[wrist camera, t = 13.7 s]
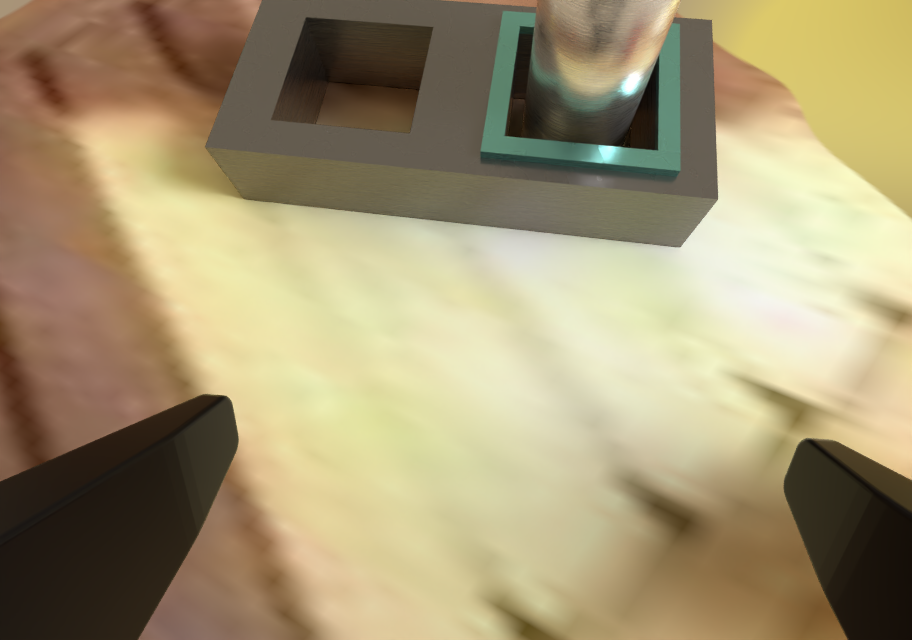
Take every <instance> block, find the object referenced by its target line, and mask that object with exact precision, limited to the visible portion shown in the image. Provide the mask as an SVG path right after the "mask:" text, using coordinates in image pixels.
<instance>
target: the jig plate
mask: <svg viewBox="0 0 912 640" xmlns="http://www.w3.org/2000/svg"><path fill="white" fill-rule="evenodd" d="M536 8H537V7H524V6H511V5H497V4H483V3H469V2H456V1H442V0H262V2H261V5H260V7H259V10H258V12H257V15H256V17H255V20H254V23H253V25H252V28H251V30H250V33H249V35H248V38H247V40H246V43H245V46H244V48H243V51H242V53H241V56H240V58H239V61H238V64H237V66H236V69H235V71H234V74H233V76H232V79H231V82H230V84H229V87H228V89H227V92H226V94H225V97H224V100H223V102H222V105H221V107H220V110H219V112H218V115H217V118H216V120H215V123H214V125H213V128H212V130H211V133H210V136H209V138H208V141H207V143H206V146H205V148H206V149H207V150H208V152H209V153H210V154H211V156H212V157H213V158H214V160H215V161H216V162H217V164H218V165H219V166H220V168H221V169H222V170H223V172H224V173H225V174H226V176H227V177H228V178H229V180H230V181H231V182H232V184H233V185H234V186H235V188H236V189H237V190H238V192H239V193H240V194H241V196H242V197H243V198H244V199H249V200H258V201H268V202H277V203H286V204H295V205H304V206H313V207H322V208H331V209H340V210H349V211H358V212H367V213H376V214H385V215H394V216H403V217H412V218H421V219H430V220H439V221H449V222H458V223H467V224H476V225H485V226H494V227H503V228H512V229H521V230H530V231H539V232H548V233H557V234H566V235H575V236H584V237H593V238H602V239H611V240H621V241H630V242H639V243H648V244H657V245H666V246H675V247H681V246H682V244H683V243H684V242H685V241H686V239H687V238H688V237H689V236H690V234H691V233H692V232H693V230H694V229H695V228H696V227H697V225H698V224H699V223H700V222H701V220H702V219H703V218H704V217H705V215H706V214H707V213H708V212H709V210H710V209H711V208H712V207H713V205H714V204H715V203H716V201H717V200H718V183H717V154H716V125H715V96H714V67H713V38H712V20H703V19H689V18H676V17H674V19H673V22H672V24H671V26H670V29H669V31H668V34H667V36H666V39H665V41H664V44H663V46H662V49H661V51H660V54H659V56H658V59H657V61H656V63H655V66H654V68H653V71H652V73H651V76H650V78H649V81H648V83H647V86H646V88H645V91H644V93H643V95H642V98H641V100H640V103H639V105H638V108H637V110H636V113H635V115H634V118H633V120H632V123H631V139H630V148H624V147H614V146H603V145H593V144H582V143H572V142H561V141H551V140H540V139H529V138H519V137H508V133H509V126H510V118H511V111H512V104H513V98H523V99H526V91H527V83H528V74H529V66H530V58H531V50H532V41H533V33H534V25H535V17H536ZM328 81H331V82H342V83H353V84H365V85H376V86H387V87H399V88H410V89H420V90H419V95H418V99H417V104H416V108H415V113H414V117H413V122H412V126H411V131H410V133H400V132H389V131H379V130H369V129H358V128H348V127H337V126H327V125H316V124H315V123H316V120H317V117H318V114H319V110H320V107H321V104H322V100H323V97H324V94H325V90H326V87H327V84H328Z"/></svg>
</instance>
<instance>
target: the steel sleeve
mask: <svg viewBox="0 0 912 640" xmlns="http://www.w3.org/2000/svg"><path fill="white" fill-rule="evenodd" d="M680 2H681V0H537V8H536V17H535V25H534V33H533V41H532V50H531V58H530V66H529V74H528V83H527V91H526V99H525V107H524V116H523V124H522V132H521V138H529V139H540V140H551V141H561V142H572V143H582V144H593V145H603V146H614V147H622V145H623V142H624V140H625V137H626V135H627V132H628V130H629V127H630V125H631V123H632V120H633V118H634V115H635V113H636V110H637V108H638V105H639V103H640V100H641V98H642V95H643V93H644V91H645V88H646V86H647V83H648V81H649V78H650V76H651V73H652V71H653V68H654V66H655V63H656V61H657V59H658V56H659V54H660V51H661V49H662V46H663V44H664V41H665V39H666V36H667V34H668V31H669V29H670V26H671V24H672V22H673V19H674V17H675V14H676V12H677V9H678V7H679V4H680Z"/></svg>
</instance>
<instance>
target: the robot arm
mask: <svg viewBox="0 0 912 640" xmlns="http://www.w3.org/2000/svg"><path fill="white" fill-rule="evenodd" d="M238 440H239V438H238V431H237V426H236V420H235V415H234V410H233V405H232V402H231V400H230V398H228V397H227V396H224V395H211V394H203V395H200V396H197V397H195V398H193V399H190V400H188V401H186V402H183V403H181V404H179V405H176V406H174V407H172V408H169V409H167V410H165V411H162V412H160V413H158V414H156V415H153V416H151V417H149V418H146V419H144V420H142V421H139V422H137V423H135V424H132V425H130V426H128V427H125V428H123V429H121V430H118V431H116V432H114V433H112V434H109V435H107V436H105V437H102V438H100V439H98V440H95V441H93V442H91V443H88V444H86V445H84V446H81V447H79V448H77V449H74V450H72V451H70V452H68V453H65V454H63V455H61V456H58V457H56V458H54V459H51V460H49V461H47V462H44V463H42V464H40V465H37V466H35V467H33V468H31V469H28V470H26V471H24V472H21V473H19V474H17V475H14V476H12V477H10V478H7V479H5V480H3V481H0V640H138V639H139V637H140V635H141V634H142V632H143V630H144V628H145V627H146V625H147V623H148V621H149V620H150V618H151V616H152V615H153V613H154V611H155V609H156V608H157V606H158V604H159V602H160V601H161V599H162V597H163V596H164V594H165V592H166V590H167V589H168V587H169V585H170V584H171V582H172V580H173V578H174V577H175V575H176V573H177V571H178V570H179V568H180V566H181V565H182V563H183V561H184V559H185V558H186V556H187V554H188V552H189V551H190V549H191V547H192V545H193V544H194V542H195V540H196V538H197V536H198V534H199V532H200V530H201V528H202V526H203V524H204V522H205V520H206V518H207V516H208V513H209V511H210V509H211V507H212V504H213V502H214V500H215V498H216V496H217V493H218V491H219V489H220V487H221V484H222V482H223V480H224V478H225V476H226V473H227V471H228V469H229V467H230V464H231V462H232V460H233V458H234V456H235V453H236V451H237V447H238ZM784 493H785V497H786V499H787V502H788V504H789V507H790V509H791V512H792V515H793V517H794V520H795V522H796V525H797V527H798V530H799V532H800V535H801V537H802V540H803V542H804V545H805V547H806V550H807V552H808V555H809V557H810V560H811V562H812V565H813V567H814V570H815V572H816V575H817V577H818V580H819V582H820V584H821V587H822V589H823V591H824V593H825V595H826V597H827V600H828V602H829V604H830V606H831V608H832V610H833V612H834V614H835V616H836V618H837V620H838V622H839V623H840V625H841V627H842V629H843V631H844V633H845V635H846V637H847V639H848V640H912V480H910V479H908V478H906V477H904V476H902V475H900V474H898V473H896V472H894V471H893V470H891V469H889V468H887V467H885V466H883V465H881V464H879V463H877V462H875V461H873V460H871V459H869V458H868V457H866V456H864V455H862V454H860V453H858V452H856V451H854V450H852V449H850V448H848V447H846V446H844V445H843V444H841V443H839V442H836V441H833V440H827V439H812V438H806V439H804V440H802V441H801V442H800V443H799V444H798V446H797V448H796V450H795V453H794V456H793V458H792V461H791V463H790V466H789V468H788V471H787V473H786V476H785V479H784Z"/></svg>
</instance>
